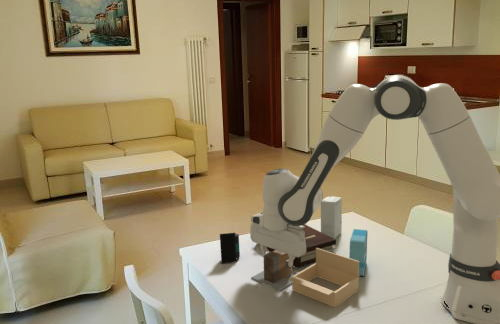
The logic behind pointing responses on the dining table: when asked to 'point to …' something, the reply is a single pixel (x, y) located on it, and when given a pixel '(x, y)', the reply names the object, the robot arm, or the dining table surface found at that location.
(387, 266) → the dining table surface
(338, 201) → the skincare box
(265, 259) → the box
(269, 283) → the mat
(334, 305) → the drawer
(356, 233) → the blue rounded block
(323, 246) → the decorative book
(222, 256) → the speaker
